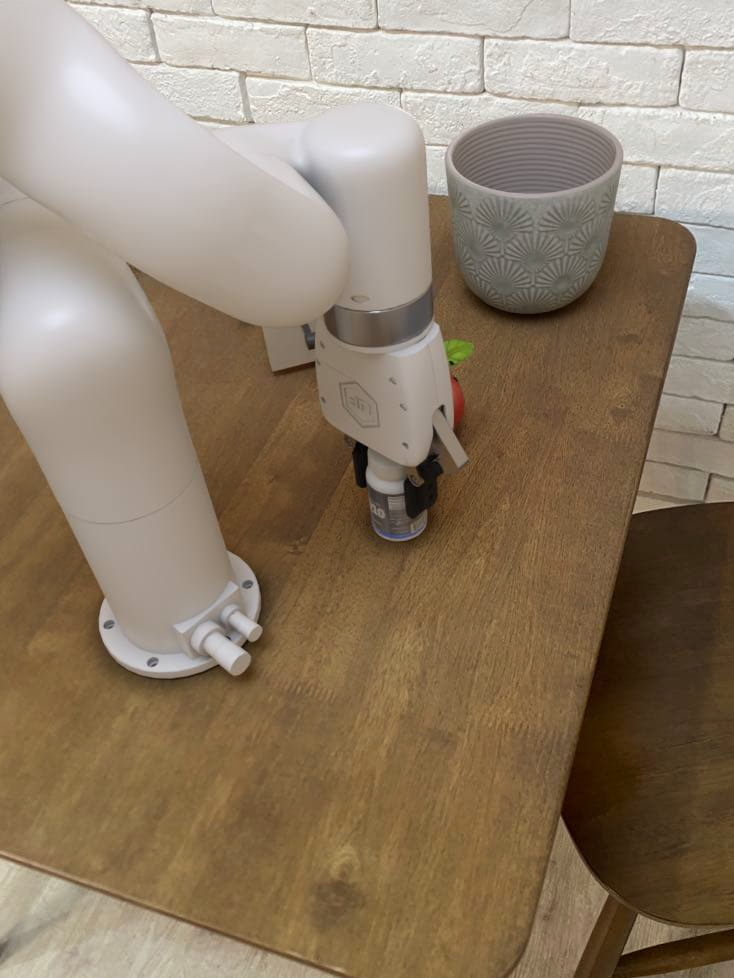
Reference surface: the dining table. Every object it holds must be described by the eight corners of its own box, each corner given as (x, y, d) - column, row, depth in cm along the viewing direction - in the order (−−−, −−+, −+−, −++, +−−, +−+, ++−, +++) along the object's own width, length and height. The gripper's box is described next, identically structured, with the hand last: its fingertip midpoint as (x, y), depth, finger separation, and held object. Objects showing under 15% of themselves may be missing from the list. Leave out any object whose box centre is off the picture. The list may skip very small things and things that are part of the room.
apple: (418, 473, 83) (411, 384, 76) (377, 432, 87) (366, 344, 80) (487, 437, 86) (487, 348, 78) (444, 399, 90) (441, 311, 82)
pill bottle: (365, 510, 80) (355, 437, 74) (417, 496, 81) (412, 423, 75) (381, 549, 77) (371, 477, 71) (435, 534, 78) (430, 461, 72)
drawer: (416, 367, 92) (411, 289, 85) (284, 401, 89) (268, 324, 83) (358, 262, 105) (349, 188, 98) (241, 289, 103) (224, 215, 96)
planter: (606, 340, 94) (623, 198, 83) (439, 333, 97) (433, 194, 85) (609, 248, 105) (624, 112, 94) (459, 244, 108) (455, 111, 96)
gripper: (252, 286, 65) (292, 473, 79) (437, 379, 57) (447, 570, 71) (327, 239, 69) (354, 426, 82) (512, 320, 61) (508, 513, 74)
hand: (396, 491), depth 76 cm, fingers closed on pill bottle, 4 cm apart
